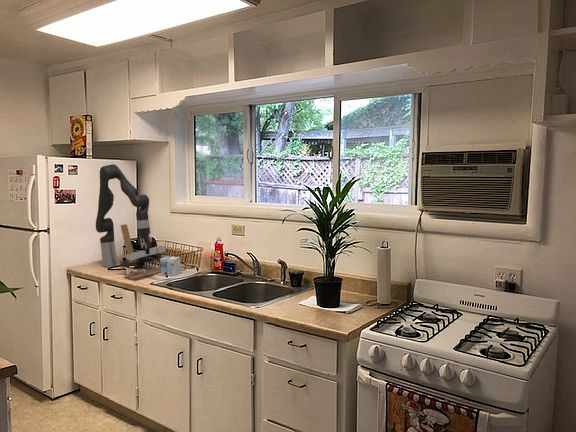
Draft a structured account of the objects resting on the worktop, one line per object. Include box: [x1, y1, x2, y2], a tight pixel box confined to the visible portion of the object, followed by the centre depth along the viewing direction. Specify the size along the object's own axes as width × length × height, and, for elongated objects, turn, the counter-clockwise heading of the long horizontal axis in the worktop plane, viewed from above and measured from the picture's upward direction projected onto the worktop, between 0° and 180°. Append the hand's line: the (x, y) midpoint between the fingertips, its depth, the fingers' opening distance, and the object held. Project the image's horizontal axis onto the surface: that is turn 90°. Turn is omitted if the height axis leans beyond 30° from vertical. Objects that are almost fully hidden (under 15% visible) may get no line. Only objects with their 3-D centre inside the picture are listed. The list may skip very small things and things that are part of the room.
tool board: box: [124, 264, 161, 282], centre depth 302 cm, size 12×27×4 cm, turn 140°
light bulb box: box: [159, 256, 182, 277], centre depth 298 cm, size 11×7×11 cm, turn 72°
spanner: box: [125, 245, 166, 261], centre depth 300 cm, size 5×25×4 cm, turn 140°
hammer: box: [119, 223, 146, 268], centre depth 322 cm, size 20×5×30 cm, turn 55°
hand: (146, 253), depth 300 cm, fingers closed on spanner, 3 cm apart
